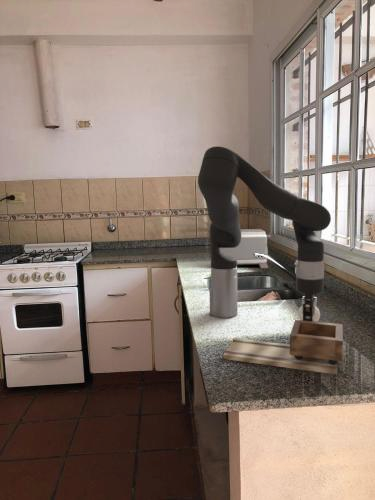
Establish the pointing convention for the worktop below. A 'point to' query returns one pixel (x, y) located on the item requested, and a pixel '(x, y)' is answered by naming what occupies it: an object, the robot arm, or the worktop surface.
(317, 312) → the lightbulb
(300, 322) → the open wooden crate
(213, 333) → the worktop surface
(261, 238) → the toaster
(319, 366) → the track
